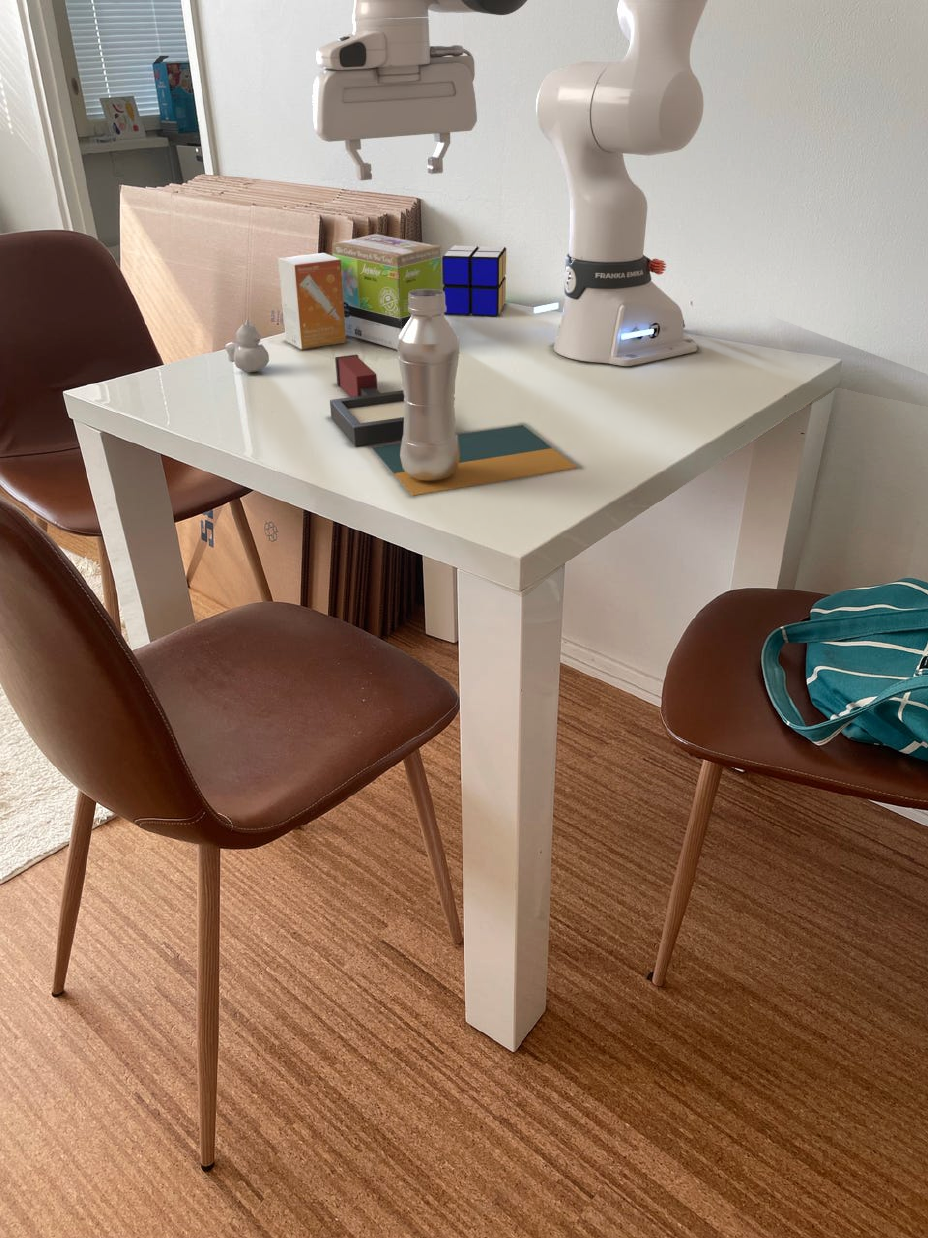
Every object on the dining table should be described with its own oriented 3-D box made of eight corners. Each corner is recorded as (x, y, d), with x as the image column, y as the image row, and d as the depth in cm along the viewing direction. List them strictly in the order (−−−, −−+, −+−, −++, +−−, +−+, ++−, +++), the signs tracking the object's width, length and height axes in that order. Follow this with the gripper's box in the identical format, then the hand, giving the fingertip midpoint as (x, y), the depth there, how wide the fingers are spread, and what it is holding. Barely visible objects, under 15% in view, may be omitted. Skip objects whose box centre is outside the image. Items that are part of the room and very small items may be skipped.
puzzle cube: (442, 314, 166) (441, 255, 161) (452, 301, 174) (451, 244, 169) (498, 316, 164) (499, 257, 159) (505, 303, 173) (506, 246, 167)
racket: (306, 388, 131) (304, 360, 129) (387, 378, 135) (386, 350, 133) (355, 446, 113) (353, 414, 111) (447, 432, 117) (447, 401, 114)
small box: (302, 350, 147) (293, 264, 140) (285, 341, 152) (276, 257, 145) (347, 342, 151) (341, 258, 144) (330, 333, 156) (323, 251, 149)
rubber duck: (261, 377, 136) (254, 321, 132) (220, 374, 137) (212, 318, 133) (277, 366, 140) (271, 312, 136) (237, 363, 142) (230, 309, 137)
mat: (522, 428, 119) (522, 424, 119) (577, 471, 107) (577, 467, 107) (372, 451, 113) (372, 447, 112) (413, 499, 101) (412, 495, 101)
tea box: (336, 335, 155) (329, 241, 147) (380, 323, 161) (375, 232, 153) (401, 352, 146) (397, 253, 138) (444, 338, 153) (442, 243, 145)
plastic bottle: (400, 465, 107) (392, 286, 97) (458, 463, 108) (457, 284, 97) (401, 488, 102) (393, 300, 91) (462, 486, 102) (461, 299, 92)
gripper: (464, 43, 116) (467, 166, 123) (303, 51, 110) (316, 179, 117) (483, 44, 111) (485, 172, 118) (316, 52, 105) (329, 186, 112)
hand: (400, 176), depth 118 cm, fingers open, 8 cm apart
